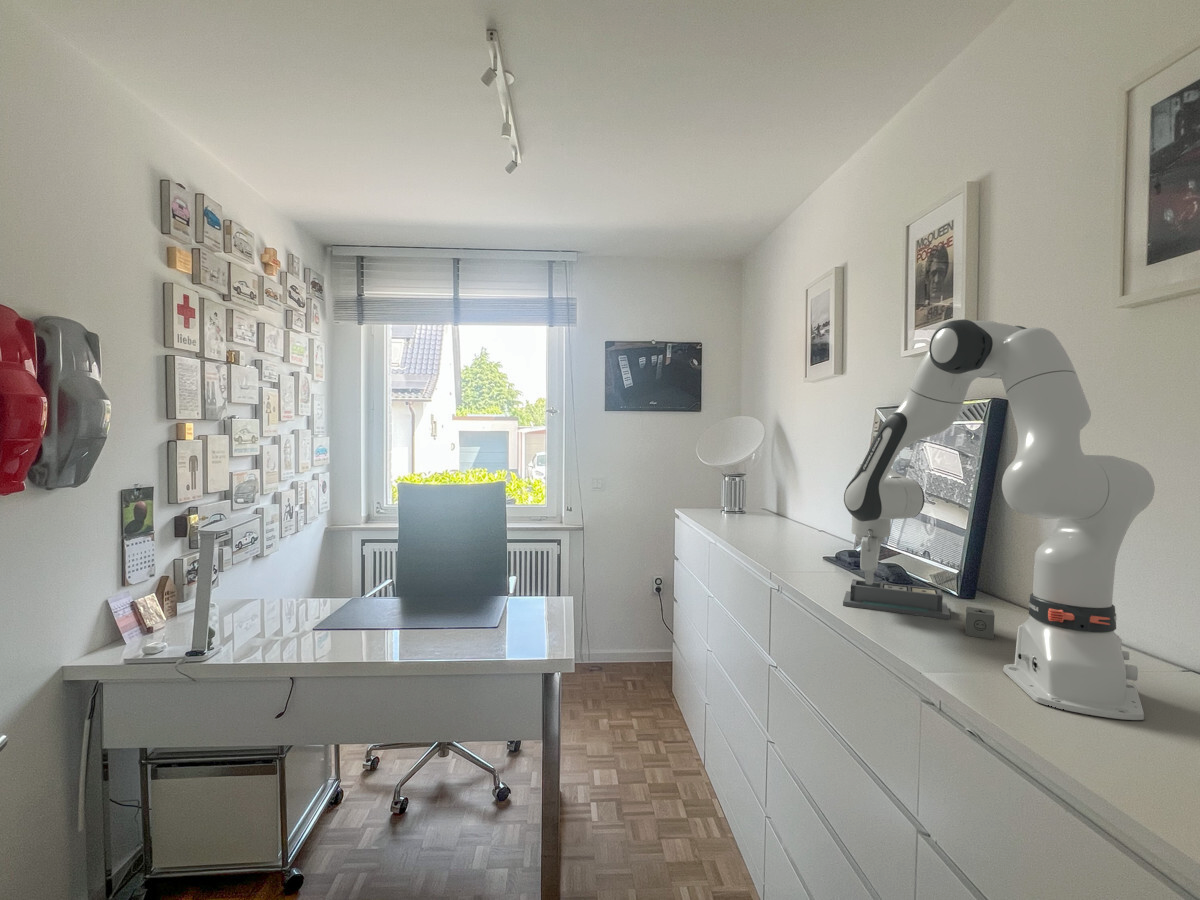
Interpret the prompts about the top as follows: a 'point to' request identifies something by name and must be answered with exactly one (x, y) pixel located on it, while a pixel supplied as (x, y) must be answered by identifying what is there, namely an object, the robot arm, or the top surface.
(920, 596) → the grey slotted tray
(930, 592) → the sand key
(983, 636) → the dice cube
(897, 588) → the grey key
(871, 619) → the top surface
